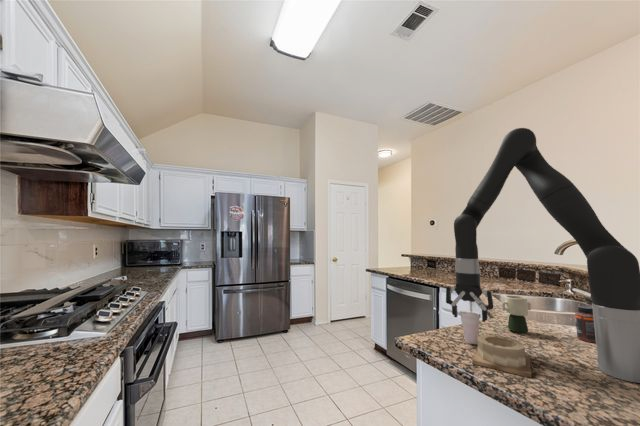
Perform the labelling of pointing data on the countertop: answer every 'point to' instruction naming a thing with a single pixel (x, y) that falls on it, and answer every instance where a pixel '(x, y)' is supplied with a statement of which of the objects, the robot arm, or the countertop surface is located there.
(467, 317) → the smoothie
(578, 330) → the supplement bottle
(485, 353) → the bottle holder
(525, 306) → the character mug
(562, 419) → the countertop surface
